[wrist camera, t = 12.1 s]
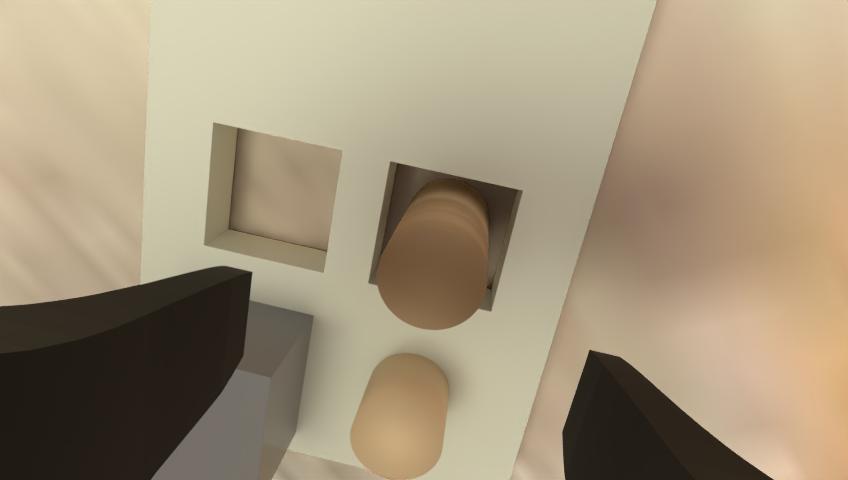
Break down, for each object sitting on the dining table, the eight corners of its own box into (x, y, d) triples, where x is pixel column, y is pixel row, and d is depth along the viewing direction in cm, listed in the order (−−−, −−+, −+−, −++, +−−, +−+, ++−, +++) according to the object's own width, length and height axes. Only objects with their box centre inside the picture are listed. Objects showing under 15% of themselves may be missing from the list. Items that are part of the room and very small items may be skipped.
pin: (468, 269, 22) (459, 346, 16) (395, 237, 22) (360, 303, 16) (502, 199, 21) (506, 254, 15) (426, 165, 21) (400, 208, 15)
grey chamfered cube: (295, 432, 22) (252, 514, 18) (168, 401, 23) (99, 475, 19) (313, 315, 21) (271, 377, 17) (176, 282, 21) (101, 336, 17)
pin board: (501, 467, 24) (503, 568, 19) (162, 385, 25) (84, 462, 20) (656, -50, 18) (716, -88, 13) (191, -142, 18) (86, -211, 14)
